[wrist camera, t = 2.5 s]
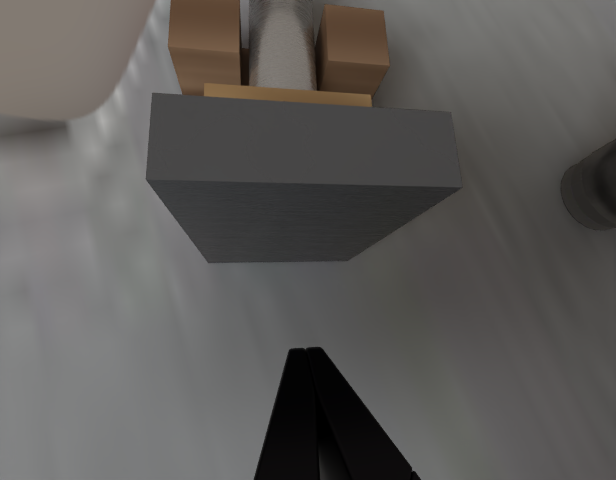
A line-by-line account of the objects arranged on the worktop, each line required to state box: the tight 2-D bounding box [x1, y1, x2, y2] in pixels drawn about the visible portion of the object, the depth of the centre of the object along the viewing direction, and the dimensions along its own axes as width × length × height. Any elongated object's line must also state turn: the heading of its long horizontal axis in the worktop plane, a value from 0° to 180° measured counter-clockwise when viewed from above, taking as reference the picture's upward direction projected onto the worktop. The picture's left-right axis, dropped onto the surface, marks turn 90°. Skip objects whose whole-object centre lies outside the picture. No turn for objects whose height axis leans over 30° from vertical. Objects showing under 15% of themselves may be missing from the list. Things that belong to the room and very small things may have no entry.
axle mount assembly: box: [146, 0, 463, 263], centre depth 14 cm, size 14×7×10 cm, turn 2°
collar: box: [204, 83, 372, 107], centre depth 15 cm, size 2×6×6 cm, turn 92°
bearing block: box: [168, 0, 390, 100], centre depth 17 cm, size 3×9×5 cm, turn 92°
